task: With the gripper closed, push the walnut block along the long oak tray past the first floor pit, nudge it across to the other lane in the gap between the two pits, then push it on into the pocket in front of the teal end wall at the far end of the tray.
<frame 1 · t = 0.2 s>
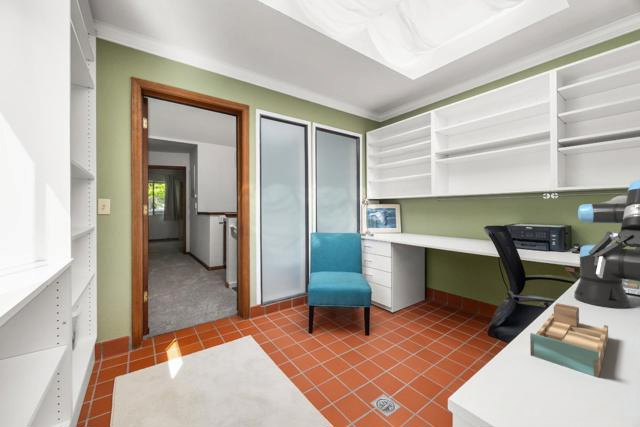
hand: (630, 279, 80), 16 cm above the table, tool tilted 35°, fingers open, 13 cm apart
block: (566, 321, 80), point 3 cm above the table, touching tray
tray: (571, 346, 71), on the table
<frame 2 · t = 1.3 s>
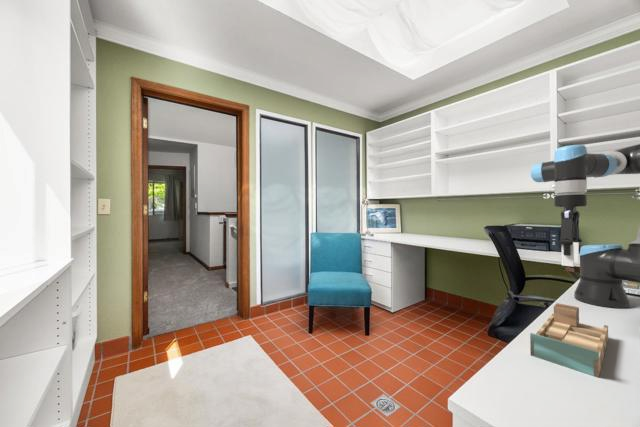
hand: (570, 263, 85), 20 cm above the table, tool pointing down, fingers open, 10 cm apart
nothing on the table moved.
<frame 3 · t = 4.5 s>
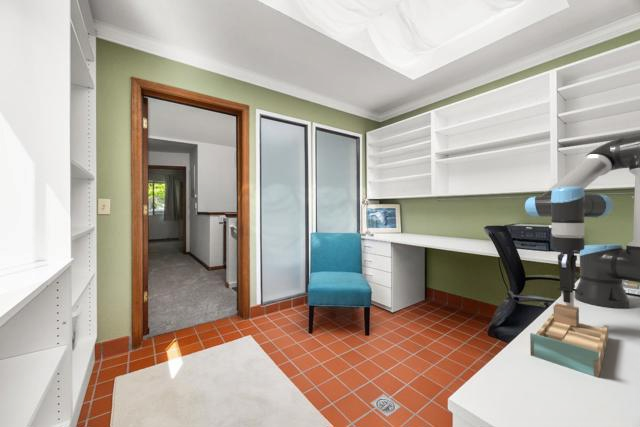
hand: (567, 311, 82), 5 cm above the table, tool pointing down, fingers closed
block: (566, 321, 80), point 3 cm above the table, touching gripper
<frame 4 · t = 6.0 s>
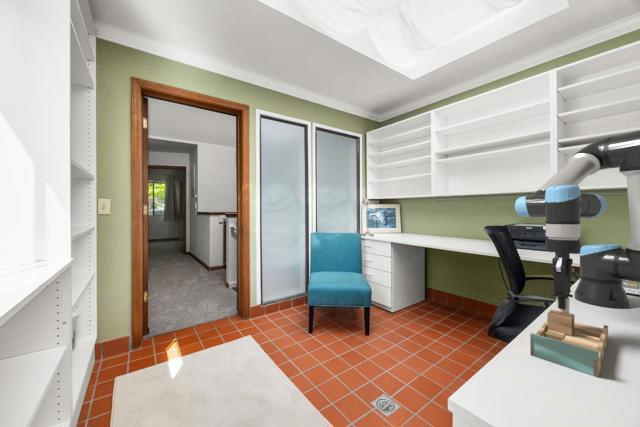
hand: (562, 319, 77), 5 cm above the table, tool pointing down, fingers closed
block: (560, 329, 75), point 3 cm above the table, touching gripper, tray
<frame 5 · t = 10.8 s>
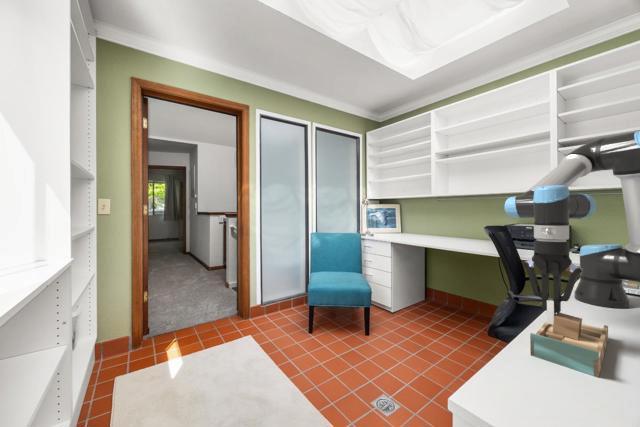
hand: (551, 322, 75), 5 cm above the table, tool pointing down, fingers closed
block: (566, 333, 73), point 3 cm above the table, touching gripper, tray
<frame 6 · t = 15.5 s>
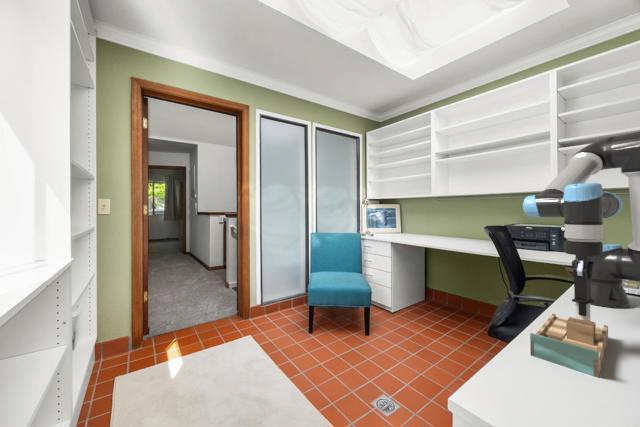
hand: (583, 326, 72), 5 cm above the table, tool pointing down, fingers closed
block: (581, 338, 70), point 3 cm above the table, touching gripper
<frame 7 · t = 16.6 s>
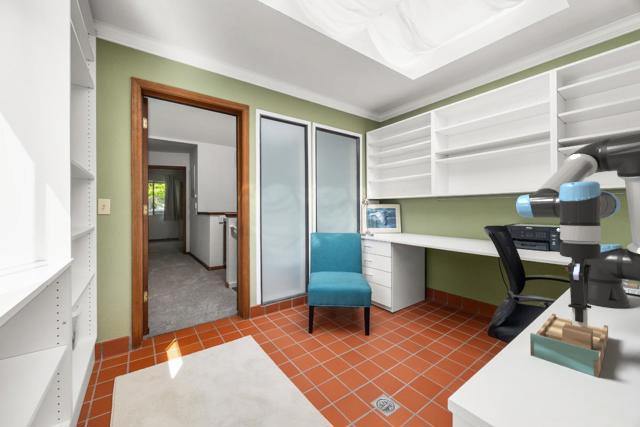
hand: (579, 333, 68), 5 cm above the table, tool pointing down, fingers closed
block: (577, 346, 66), point 3 cm above the table, touching gripper, tray
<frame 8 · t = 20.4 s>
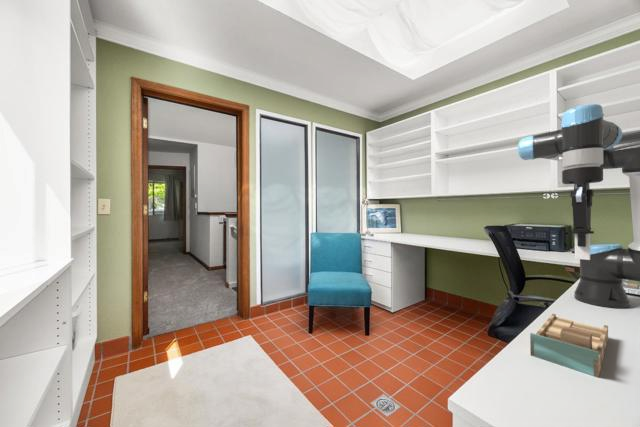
hand: (582, 258, 68), 24 cm above the table, tool pointing down, fingers closed
block: (576, 350, 64), point 3 cm above the table, touching tray
at the end: block inside the target area (0.8 cm from its centre), point 2.7 cm above the table; block tilted 0° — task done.
